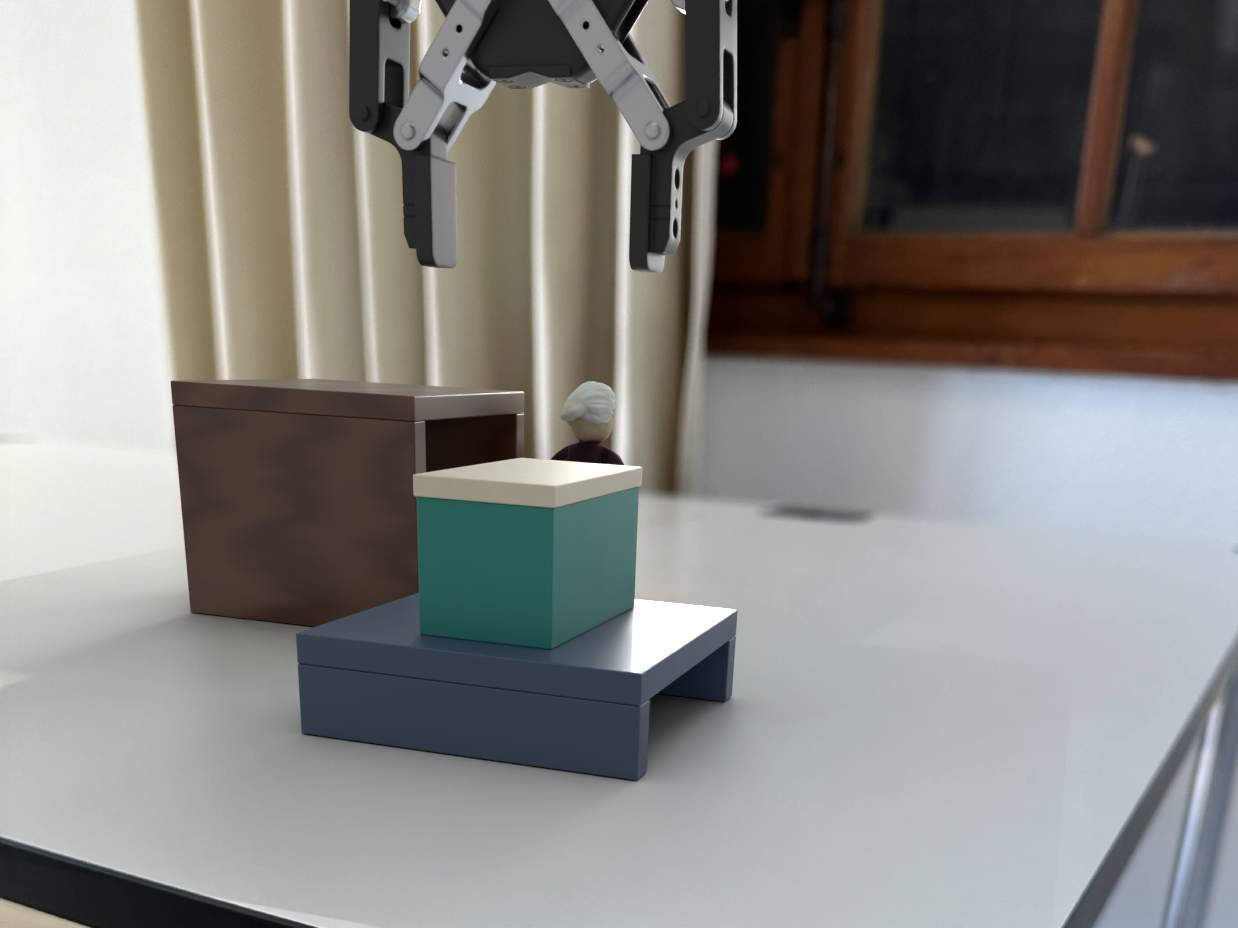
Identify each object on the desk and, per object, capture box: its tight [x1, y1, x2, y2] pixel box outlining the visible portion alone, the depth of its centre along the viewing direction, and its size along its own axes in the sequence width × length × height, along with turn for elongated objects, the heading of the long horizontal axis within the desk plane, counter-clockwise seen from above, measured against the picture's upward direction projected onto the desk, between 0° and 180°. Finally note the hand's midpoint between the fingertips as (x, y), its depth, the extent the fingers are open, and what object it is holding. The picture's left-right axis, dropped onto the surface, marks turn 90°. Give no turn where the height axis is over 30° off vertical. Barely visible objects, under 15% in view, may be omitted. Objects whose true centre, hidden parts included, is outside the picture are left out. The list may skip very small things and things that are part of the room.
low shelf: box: [295, 593, 739, 781], centre depth 55 cm, size 14×14×4 cm
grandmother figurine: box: [549, 380, 625, 465], centre depth 81 cm, size 8×4×13 cm, turn 65°
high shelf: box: [170, 378, 525, 628], centre depth 75 cm, size 14×14×12 cm
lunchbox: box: [413, 457, 643, 650], centre depth 54 cm, size 6×10×6 cm, turn 163°
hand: (539, 269), depth 50 cm, fingers open, 8 cm apart
